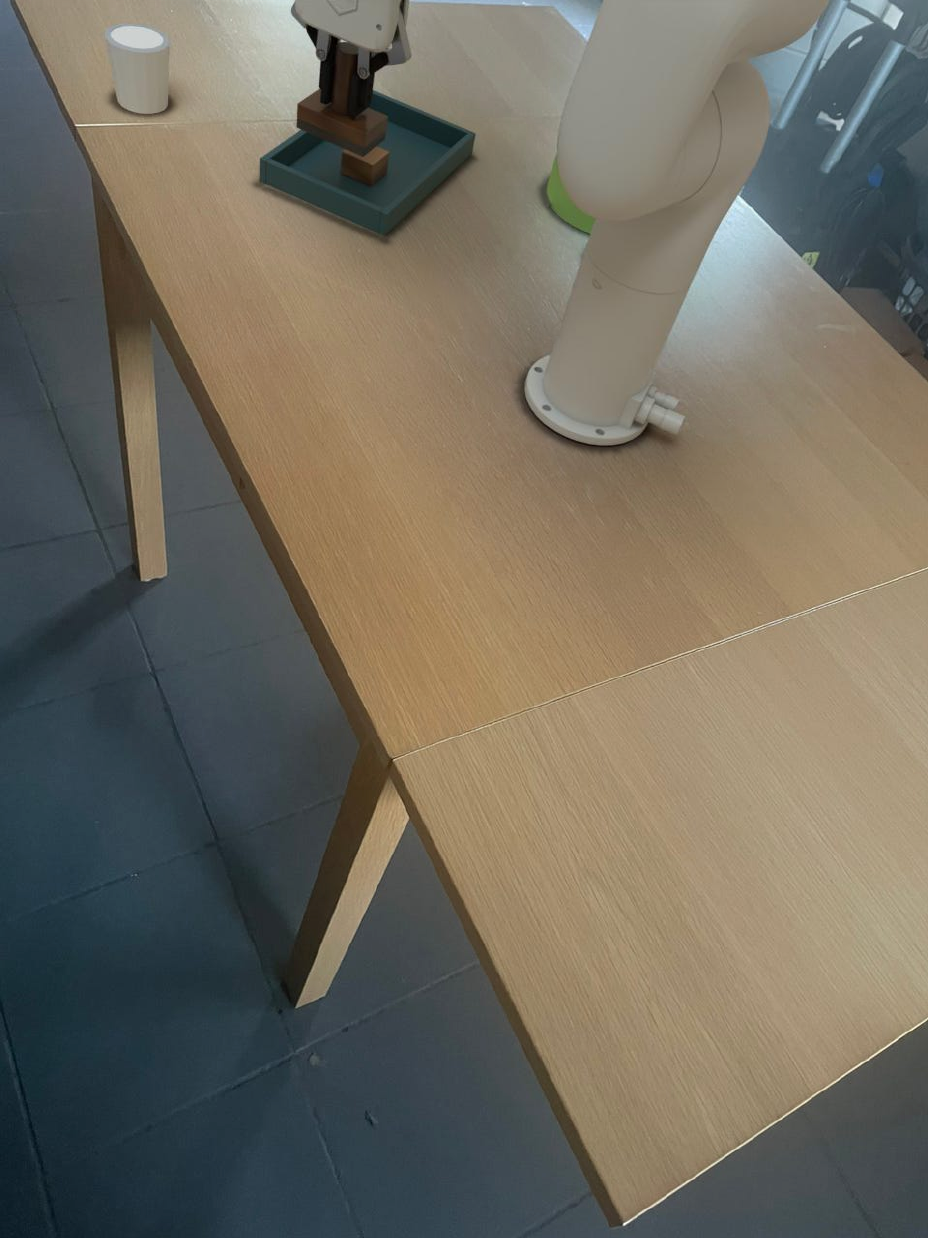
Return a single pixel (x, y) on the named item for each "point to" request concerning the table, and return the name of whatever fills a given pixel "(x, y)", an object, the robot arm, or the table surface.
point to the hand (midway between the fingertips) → (344, 104)
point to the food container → (566, 203)
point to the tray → (413, 172)
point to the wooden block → (365, 165)
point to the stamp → (342, 110)
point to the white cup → (139, 66)
